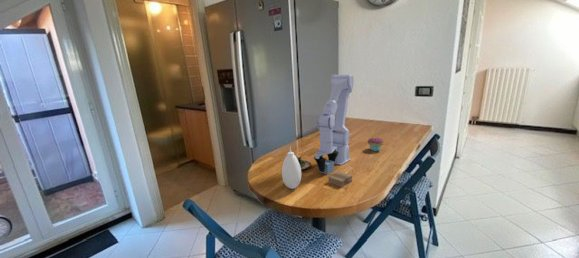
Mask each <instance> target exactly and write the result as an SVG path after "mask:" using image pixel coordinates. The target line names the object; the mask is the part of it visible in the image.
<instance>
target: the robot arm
mask: <svg viewBox="0 0 579 258" xmlns="http://www.w3.org/2000/svg"><path fill="white" fill-rule="evenodd" d="M330 86H331V91H330V95H329V98H328V100H327V101H326V102H325V103H324V107H323V109H322V113H321V114H320V115H318V117H317V120H316V125H317V128H318V132H319V148H318V151H317V152H315V153H314V156H313V159H314V160H315V162H316V164H317V167H318V172H319V171H321V172H324V165H325V161H326V159H327V158H328V159H327V160H331V161H334V165H338V166H341V165H344V164H345V163H347V162H349V161H351V160H352V158H350V146H349V142H350V130H349V129H348V128H347V127H346V119H347V117H346V116H347V110H348V103H349V102H348V101H349V97H350V96H349V95H350V94H351V93H353V87H354V76H353V75H352V74H351V73H348V74H332V75H331V77H330ZM326 155H327V157H326V158H325V157H324V156H326ZM321 172H320V173H321Z"/></svg>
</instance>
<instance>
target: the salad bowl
mask: <svg viewBox="0 0 579 258" xmlns="http://www.w3.org/2000/svg"><path fill="white" fill-rule="evenodd" d="M295 154H296V155H295ZM294 155H295V156H296V158H297V159H298V161H299V164H300V167H301V171H302V170H306V169H307V168H309V167H310V166H312V163H311V162H310V161H308V160H305V159H302V156H301V155H299V154H298V155H297V153H296V152H294Z"/></svg>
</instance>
